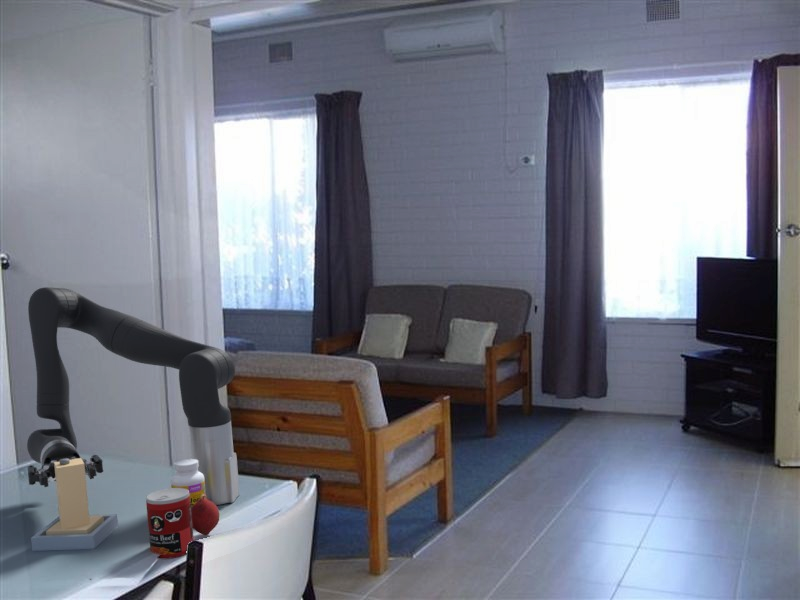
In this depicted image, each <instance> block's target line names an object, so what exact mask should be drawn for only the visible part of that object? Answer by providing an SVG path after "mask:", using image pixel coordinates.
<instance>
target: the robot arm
mask: <svg viewBox="0 0 800 600" xmlns="http://www.w3.org/2000/svg"><path fill="white" fill-rule="evenodd" d="M27 305H28V306H27V307H28V310H27V311H28V321H29V327H30V333H31V340H32V346H33V353H34V359H35V367H36V368H35V371H36V415H37V417H39V418H41V419H45V420H50V421H51V420H52V421H55V422H57V423H58V424H59V426H60V428H47V429H46V428H40V429H37V430H34V431H33V432H31V434H29V436H28V438H27V442H26V443H27V444H26V450H27V452H28V454H29V457H30V458H31V459H32V460H33V461H35V462H36V463H39V464H40V466H41V467H38V468H37V466H35V465H28V466H27V476H28V477H27V478H28V485H31V486H33V485H36V484H37V483H38V484H39V485H40V486H43V487H44V488H47V487H49V483H52V482H56V477H55V467H54V462H59V460H61V459H65V458H68V459H69V460H72V459H78V458H81V456H80V454H79V452H78V451H77V449H78V441H77V438H76V434H75V431H74V427H73V423H72V419H71V414H70V413H71V412H70V380H69V375H68V372H67V369H66V367H65V364H64V362H63V359H62V356H61V354H60V350H59V347H58V328H63V329H66V328H67V329H72V330H75V331H78V332H81V333H85V334H87V335H90V336H92V337H93V338H95V340H97V341H98V343H100V345H102V347H103V348H105V349H106V350H108V351H109V352H111V353H113V354H115V355H118V356H120V357H122V358H124V359H127V360H129V361H132V362H135V363H140V364H145V365H150V366H151V365H152V366H159V367H166V368H172V369H175V370H178V381H179V382H178V383H179V389H180V398H181V403H182V409H183V413H184V415H185V417H186V418H187V427H188V428H187V429H188V439H189V452H190V453H189V454H190V459H196V460H198V464H199V467H198V471H199V472H201V473H202V474H203V475H204V479H205V493H206V496H207V497H206V498H207V500H209V501H211V502H213V503H214V504H215V505H216V506H218V505H219V506H220V505H223V504H230V503H232V504H233V503H234V502H235V500H236V499H237V498H238V496H239V495H240V482H239V471H238V469H239V468H238V459H237V453H236V452H234V443H233V428H232V414H231V410H230V408H229V407H228V406H227V405H226V406H225V405H222V404H221V401H220V396H219V390H220V389H221V388H222V389H223V388H224V387H225V386H227V385H228V384H229V383H231V381H232V380H233V378H234V377H235V374H236V367H235V366H236V365H235V363H234V361H233V360H232V358H231V357H232V356H230V355H229V354H228V353H227V352H226V351H224V350H223V349H221V348H219V347H215V346H213V345H212V346H211V345H207V344H204V343H200V342H196V341H193V340H190V339H187V338H184V337H182V336H179V335H177V334H175V333H172V332H170V331H167V330H165V329H162V328H161V327H158V326H155V325H153V324H151V323H149V322H148V321H144V320H142V319H139V318H137V317H135V316H132V315H130V314H126V313H124V312H120V311H118V310H114V309H111V308H108V307H105V306H102V305H100V304H98V303H96V302H94V301H92V300H91V299H89V298H86V297H85V296H84V295H82V294H80V293H78V292H76V291H75V290H72V289H69V288H64V287H61V288H60V287H47V286H46V287H41V288H38V289H36V290H34V291H33V293H32V294H31V295H30V297H29V300H28V304H27ZM81 459H82V461H83V462H84V466H85V476H88V478H89V479H90V480H92V479H93V480H94V479H95V478H94V477H96V476H97V474H98V473H99V474H102V473H103V472H104V469H103V466H104V465H103V459H102V458H101V457H100V456H99V455H98V454H93V455H91V456H90V458H89V459H86V458H83V457H82V458H81Z"/></svg>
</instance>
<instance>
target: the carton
mask: <svg viewBox="0 0 800 600" xmlns="http://www.w3.org/2000/svg"><path fill="white" fill-rule="evenodd" d="M82 459H83V458H82ZM82 459H81V458H78V459H72V460H69V459H68V458H65V459H61V460H59V462H54V467H55V477H56V481H55V485H56V495H57V497H56V498H57V506H58V507H57V508H58V515H59V516H58V517H59V518H60V524H61V526H62V529H68V528H73V527H78V526H83V525H88V524H90V518H89V515H90V511H89V502H88V501H89V499H88V489H87V487H88V486H87V479H86V478H87V477H86V476H87V475H85V466H84V462H83V461H82Z"/></svg>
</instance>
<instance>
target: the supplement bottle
mask: <svg viewBox="0 0 800 600" xmlns="http://www.w3.org/2000/svg"><path fill="white" fill-rule="evenodd" d="M198 467H199V464H198V460H196V459H191V458H186V459H180V460H177V461H175V462H174V470H175V474H174V475H173V476H172V477H171V479H170V485H171V487H170V488H184V489H187V490H189V494H190V503H191V508H192V506H193V505H194V504H195V503H196V502H197V501H198V500H199V499H200V497H201V495H206V493H205V479H204V475H203V474H202V473H201V472H199V471H198Z"/></svg>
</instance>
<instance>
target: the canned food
mask: <svg viewBox="0 0 800 600" xmlns="http://www.w3.org/2000/svg"><path fill="white" fill-rule="evenodd" d="M145 500H146V501H145V503H146V504H145V505H146V514H147V515H146V516H147V524H148V525H147V526H148V527H147V528H148V538H149V546H150V552H151V553H153V554H156V555H158V556H157V559H160V560H161V559H162V560H167V559H168V560H169V559H176V558H179V557H183V556H185V555H187V554H186V551H187V545H188V543H189V542H191V541H194V531H193V530H194V529H193V528H192V516H191V503H190V494H189V490H187V489H184V488H171V487H169V488H164V489H163V488H162V489H160V490H159V489H158V490H155V491H153V492H151V493H149V494H148V495H147V496H146V499H145Z"/></svg>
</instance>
